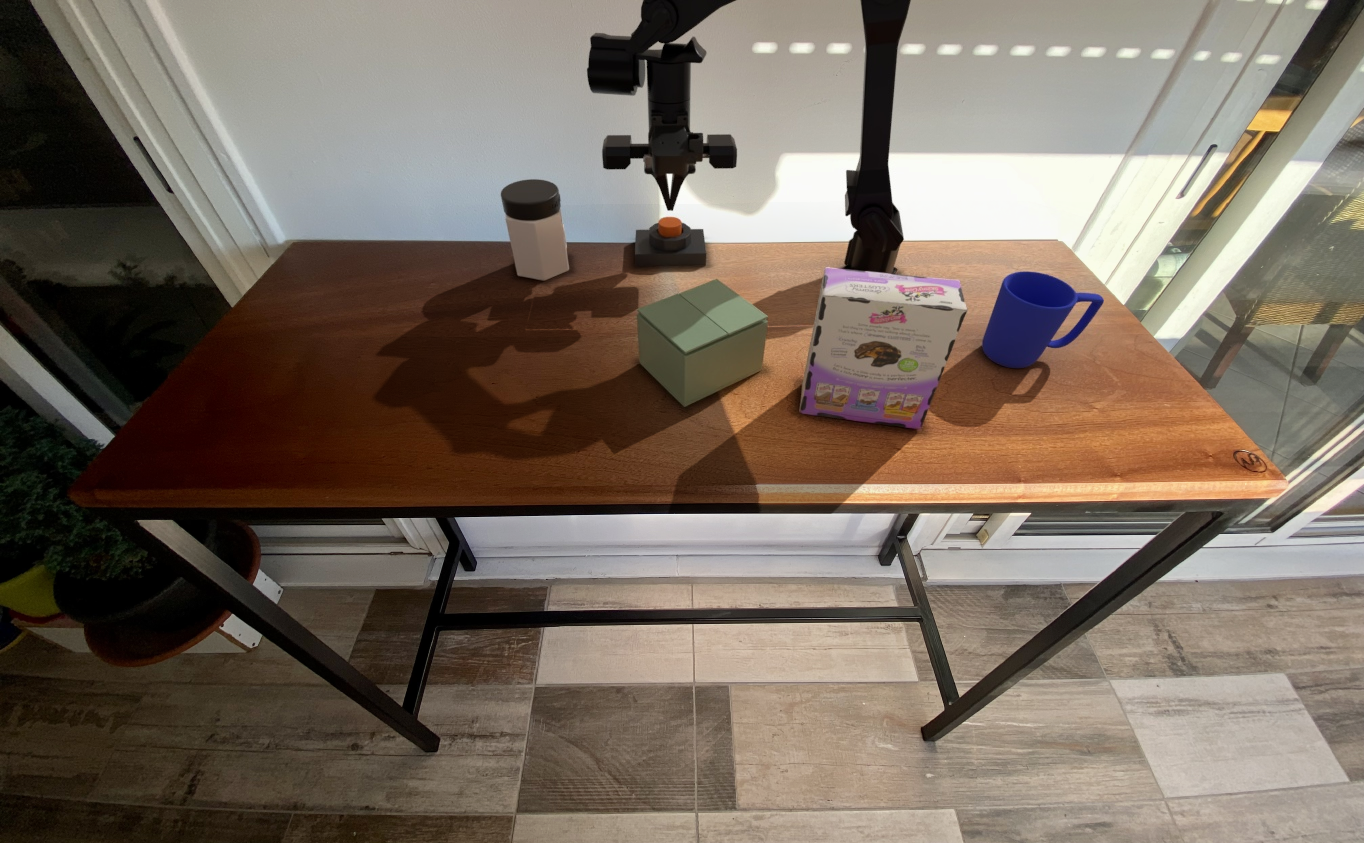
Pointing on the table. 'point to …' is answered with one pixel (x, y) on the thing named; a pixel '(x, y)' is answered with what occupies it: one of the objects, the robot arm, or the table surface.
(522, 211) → the jar
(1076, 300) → the mug
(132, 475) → the table surface
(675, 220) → the button
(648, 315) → the carton
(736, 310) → the flap
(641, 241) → the control block
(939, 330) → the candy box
